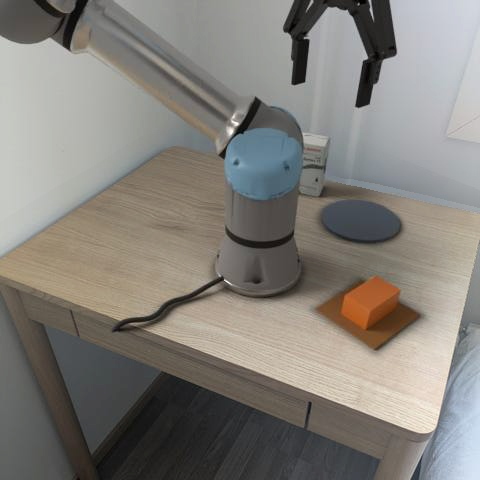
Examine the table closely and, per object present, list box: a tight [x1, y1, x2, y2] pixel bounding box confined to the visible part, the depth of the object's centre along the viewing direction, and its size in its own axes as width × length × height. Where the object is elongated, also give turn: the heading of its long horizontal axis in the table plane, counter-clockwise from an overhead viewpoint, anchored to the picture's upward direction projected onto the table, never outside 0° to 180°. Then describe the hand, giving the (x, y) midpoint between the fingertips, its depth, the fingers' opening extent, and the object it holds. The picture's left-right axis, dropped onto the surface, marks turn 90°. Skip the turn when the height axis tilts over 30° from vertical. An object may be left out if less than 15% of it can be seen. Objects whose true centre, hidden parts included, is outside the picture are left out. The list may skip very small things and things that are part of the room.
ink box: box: [299, 132, 332, 197], centre depth 108 cm, size 9×5×12 cm, turn 71°
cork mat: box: [315, 279, 421, 351], centre depth 80 cm, size 12×12×1 cm
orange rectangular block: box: [341, 275, 402, 330], centre depth 79 cm, size 8×5×4 cm, turn 131°
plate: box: [320, 199, 401, 244], centre depth 102 cm, size 16×16×1 cm
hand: (328, 94), depth 80 cm, fingers open, 13 cm apart
